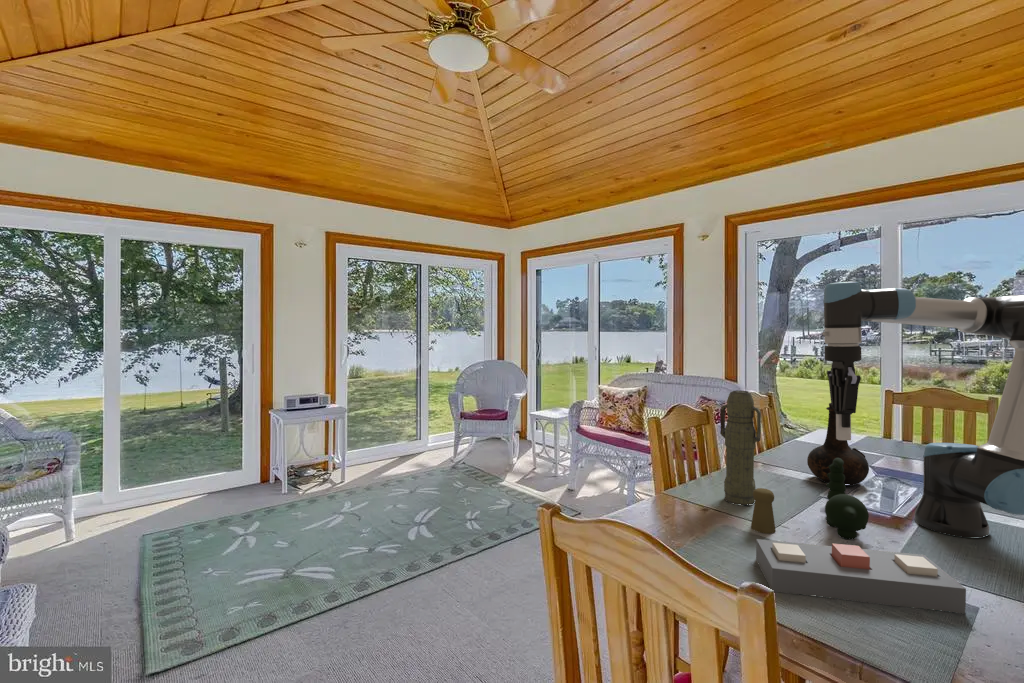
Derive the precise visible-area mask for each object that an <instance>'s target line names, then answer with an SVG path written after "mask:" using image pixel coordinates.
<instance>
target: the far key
mask: <svg viewBox="0 0 1024 683" xmlns="http://www.w3.org/2000/svg"><path fill="white" fill-rule="evenodd" d="M772 552H773V553H774V555H775V557H776V558H777V560H781V561H791V562H800V563H806V556H805V554H804V553H803V551H802V550H801V549H800V547H799V546H798V545H793V544H782V543H772Z"/></svg>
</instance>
